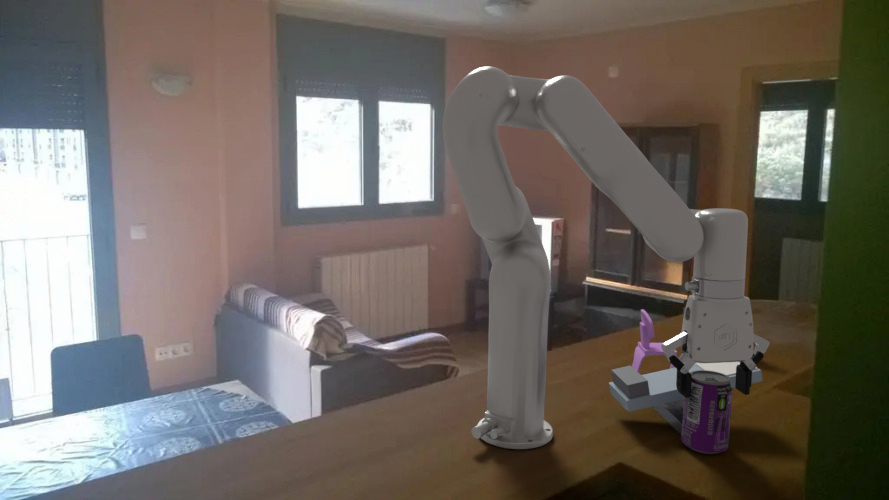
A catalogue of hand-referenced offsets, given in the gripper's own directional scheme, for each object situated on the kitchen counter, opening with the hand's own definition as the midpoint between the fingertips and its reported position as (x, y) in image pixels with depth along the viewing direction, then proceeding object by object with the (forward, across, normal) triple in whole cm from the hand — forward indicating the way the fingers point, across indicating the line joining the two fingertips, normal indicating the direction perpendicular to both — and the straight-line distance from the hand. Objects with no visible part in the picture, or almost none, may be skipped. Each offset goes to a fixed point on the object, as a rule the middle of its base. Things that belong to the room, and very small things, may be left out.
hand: (713, 393), depth 111 cm
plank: (+3, +1, +12) cm, 12 cm away
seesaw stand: (+9, 0, +12) cm, 15 cm away
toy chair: (+9, +3, +31) cm, 33 cm away
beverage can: (+9, -1, 0) cm, 9 cm away
